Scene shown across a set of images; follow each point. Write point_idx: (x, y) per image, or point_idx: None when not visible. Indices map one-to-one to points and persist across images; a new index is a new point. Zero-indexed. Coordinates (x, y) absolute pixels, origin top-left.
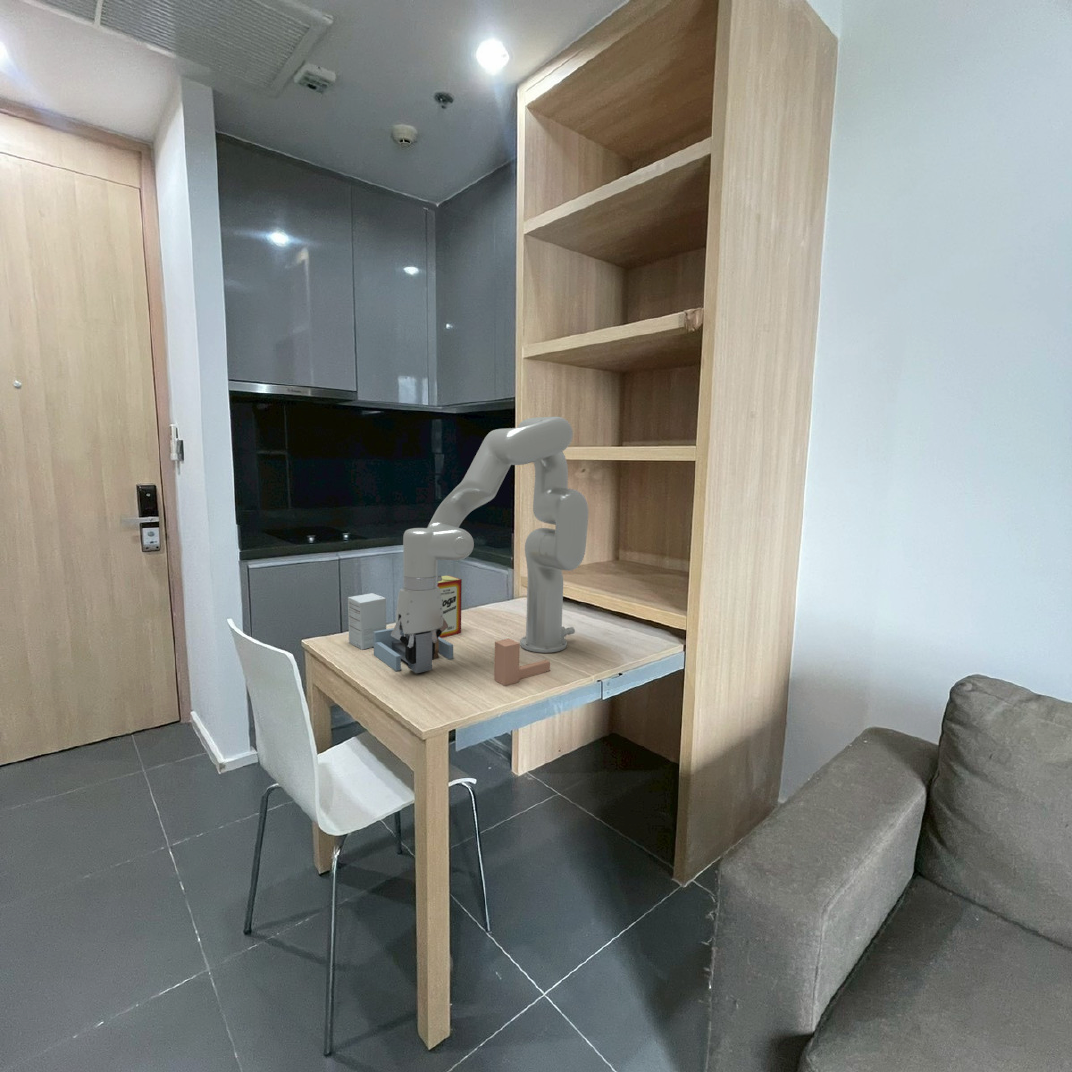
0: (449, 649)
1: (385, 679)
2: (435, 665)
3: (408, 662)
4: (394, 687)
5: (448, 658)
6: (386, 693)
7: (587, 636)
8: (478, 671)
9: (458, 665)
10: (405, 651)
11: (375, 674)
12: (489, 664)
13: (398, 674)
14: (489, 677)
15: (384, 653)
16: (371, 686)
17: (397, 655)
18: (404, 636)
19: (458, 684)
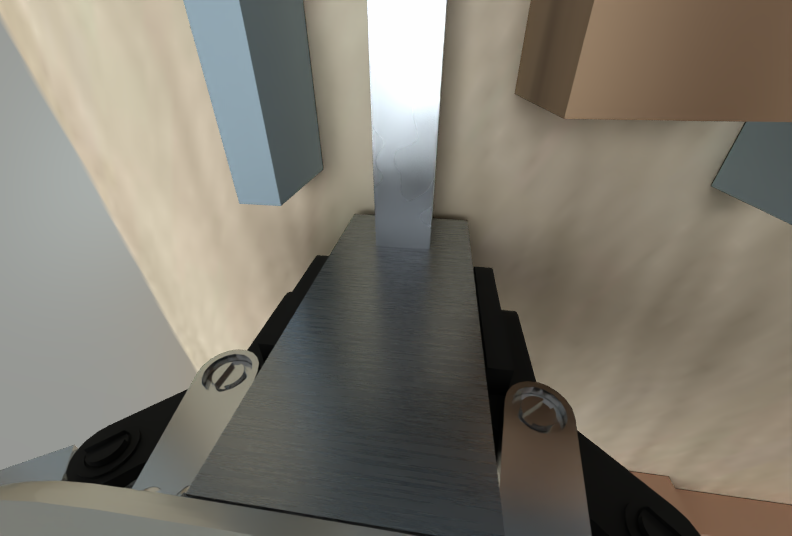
0: (782, 219)
1: (218, 234)
2: (544, 225)
3: (344, 231)
4: (244, 323)
5: (718, 178)
6: (209, 344)
7: None
8: (635, 400)
9: (643, 303)
10: (266, 326)
11: (168, 136)
12: (770, 381)
13: (293, 216)
14: (606, 449)
15: None
16: (152, 264)
17: (255, 184)
18: (166, 442)
19: None
